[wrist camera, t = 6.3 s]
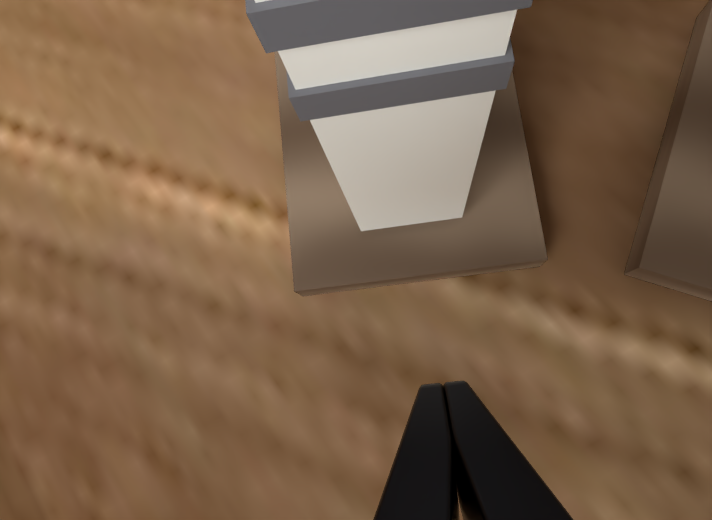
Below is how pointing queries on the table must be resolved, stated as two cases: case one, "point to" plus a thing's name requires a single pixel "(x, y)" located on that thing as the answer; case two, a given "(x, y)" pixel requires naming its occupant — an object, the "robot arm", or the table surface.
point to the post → (394, 94)
